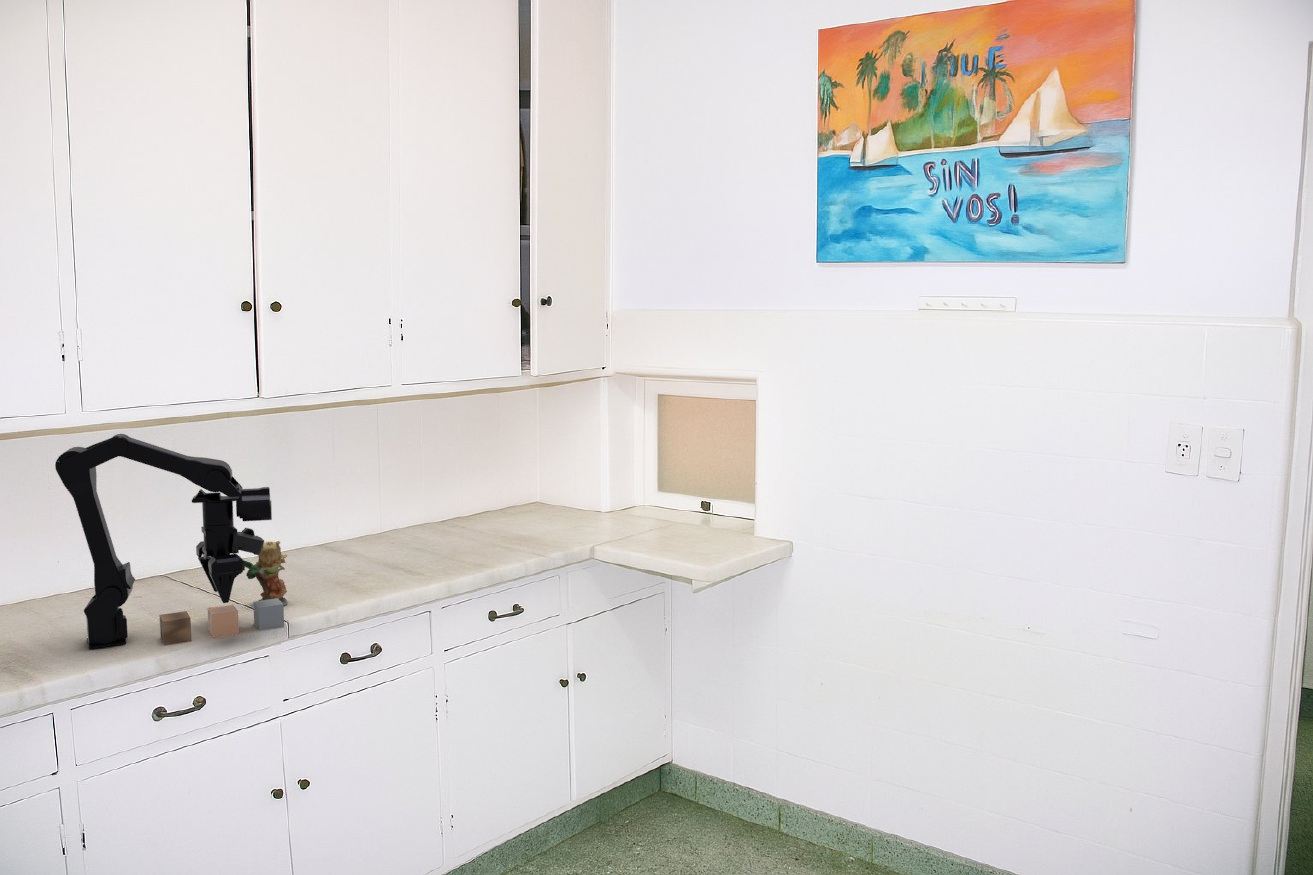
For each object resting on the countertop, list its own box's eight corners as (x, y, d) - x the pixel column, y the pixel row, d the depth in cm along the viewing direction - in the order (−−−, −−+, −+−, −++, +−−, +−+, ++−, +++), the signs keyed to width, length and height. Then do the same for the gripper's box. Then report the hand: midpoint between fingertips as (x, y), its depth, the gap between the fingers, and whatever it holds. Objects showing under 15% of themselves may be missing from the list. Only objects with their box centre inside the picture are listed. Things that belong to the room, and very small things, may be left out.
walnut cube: (164, 645, 202) (162, 621, 202) (160, 638, 207) (159, 614, 206) (191, 641, 205) (190, 617, 204) (187, 634, 209) (186, 611, 209)
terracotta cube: (212, 638, 207) (211, 614, 207) (208, 631, 211) (207, 608, 211) (238, 634, 210) (238, 610, 209) (234, 627, 214) (233, 604, 214)
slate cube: (259, 631, 212) (258, 607, 212) (254, 624, 216) (253, 601, 216) (284, 627, 215) (283, 604, 214) (278, 620, 219) (277, 598, 218)
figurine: (293, 600, 234) (291, 536, 232) (282, 610, 226) (280, 544, 224) (253, 599, 233) (250, 535, 231) (241, 609, 226) (238, 543, 224)
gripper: (270, 527, 204) (272, 602, 206) (250, 510, 220) (252, 580, 222) (210, 533, 198) (213, 611, 200) (194, 515, 214) (197, 588, 216)
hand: (221, 596), depth 210 cm, fingers open, 9 cm apart
